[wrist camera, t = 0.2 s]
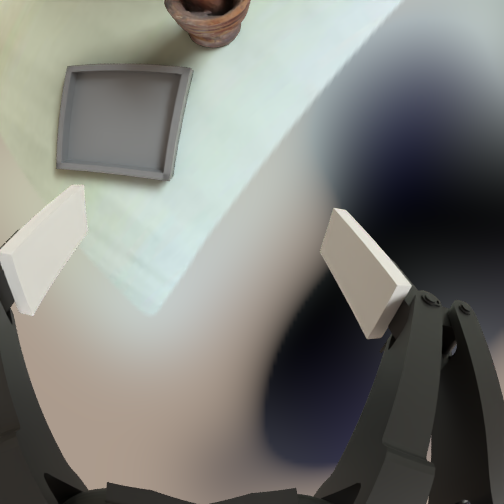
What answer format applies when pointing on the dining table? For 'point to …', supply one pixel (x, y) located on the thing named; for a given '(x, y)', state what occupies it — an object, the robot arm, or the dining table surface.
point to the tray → (122, 119)
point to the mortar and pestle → (209, 19)
